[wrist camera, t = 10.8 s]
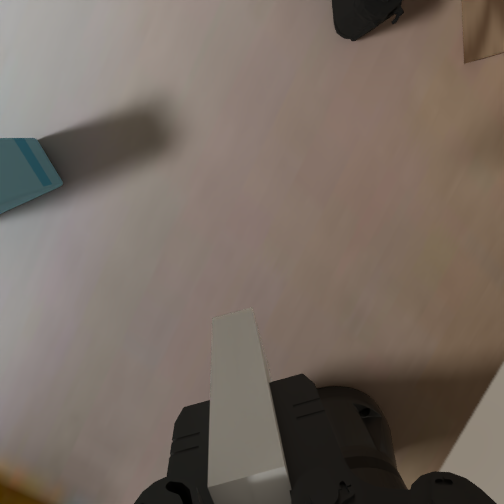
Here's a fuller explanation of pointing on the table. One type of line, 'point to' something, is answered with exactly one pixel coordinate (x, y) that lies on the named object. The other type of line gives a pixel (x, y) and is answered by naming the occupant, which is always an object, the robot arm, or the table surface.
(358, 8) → the film camera
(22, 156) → the data package
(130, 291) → the table surface
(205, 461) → the robot arm
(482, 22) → the stone brick
